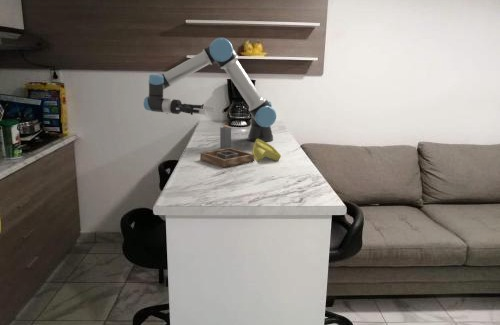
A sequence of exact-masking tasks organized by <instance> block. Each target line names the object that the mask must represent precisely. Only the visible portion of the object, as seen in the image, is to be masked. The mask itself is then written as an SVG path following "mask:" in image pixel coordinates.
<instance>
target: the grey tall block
mask: <svg viewBox="0 0 500 325" xmlns="http://www.w3.org/2000/svg"><path fill="white" fill-rule="evenodd" d="M219 128H220V130H219V131H220V132H219V133H220V134H219V136H220V140H219V141H220V142H219V143H220V144H219V146H220V147H219V150H220V149H225V148H232V127H230V126H229V125H228V124H226V125H225V124H224V125H223V126H221V127H219Z"/></svg>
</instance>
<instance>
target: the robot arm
mask: <svg viewBox="0 0 500 325" xmlns="http://www.w3.org/2000/svg"><path fill="white" fill-rule="evenodd" d="M238 59H239V55H238V53H237V52H236V50H235V48H234V47H233V45H232V43H231V41H230V40H229V39H227V38H225V37H217V38H215V39H214V40H213V41H212V42H211V43H210V44H209V45H208V46H206V47H204V48H203V49H202V51H201V52H200V53H197V54H196V55H194V56H193V57H191V58H189V59H187V60H186V61H183V62H182V63H180V64H178V65H176V66H174V67H173V68H171V69H169V70H167V71H165V72H164V73H163V74H153V73H151V74H149V76H148V96H146V97H145V98H144V99H143V100H144V101H143V107H144V109H145V110H146V111H150V112H155V113H166V115H169V114H174V115H179V114H181V113H185V114H190V115H192V116H193V115H194V114H196V115H204V116H206V115H207V112H211V113H215V110H216V107H215V106H211V105H204V103H202V104H190V103H188V104H187V103H182V101H181V100H180V99H173V98H166V97H165V98H164V90H165V89H167V88H169V87H171V86H172V85H174V84H175V83H177V82H180V81H181V80H183V79H184V78H187V77H189V76H190V75H192V74H194V73H195V72H197V71H200V70H202V69H203V68H205V67H207V66H209V65H211V66H212V65H215V64H217V66H218V67H219V69H221V70H224V72H226V74H227V76H228V77H229V78H230V80H231V82H232V83H233V84H234V87H236V89H237V90H238V93H239V94H240V96H241V97H242V98H243V100H244V101H245V102H246V104H247V106H248V111H249V113H250V115H251V116H250V117H251V119H250V121H251V122H250V129H249V132H248V133H249V134H248V135H247V140H248V139H249V140H248V141H250V140H252V141H251V142H255V141H256V139H260V140H262V141H269V142H271V140H272V141H274V134H273V132H272V128H271V127H272V126H273V124H275V122H276V119H277V112H276V110H275V109H274V108H273V106H272V102H271V101H270V100H268V99H267V98H266V97H262V95H261V93H260V92H259V91H258V89H257V88H256V86H255V85H254V83H253V82H252V80H251V79H250V76H248V74H247V72H246V71H245V69H244V68H243V67H242V64H241V63H240V62H239V60H238Z"/></svg>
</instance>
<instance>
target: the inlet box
mask: <svg viewBox="0 0 500 325" xmlns="http://www.w3.org/2000/svg"><path fill="white" fill-rule="evenodd" d="M199 160H200V161H202V162H205V163H208V164H210V165H214V166H217V167H220V168H222V169H226V168H231V167H237V166H241V165H246V164H250V163H254V162H255V158H254V154H252V153H250V152H246V151H243V150H239V149H236V148H232V147H231V148H225V149H220V148H219V149H214V150H209V151H205V152H200V159H199ZM253 161H254V162H253ZM249 162H250V163H249ZM245 163H246V164H245Z"/></svg>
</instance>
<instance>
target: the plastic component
mask: <svg viewBox="0 0 500 325" xmlns="http://www.w3.org/2000/svg"><path fill="white" fill-rule="evenodd" d="M251 154H254V161H256V162H260V161H262V160H263V158H265V157H266V158H269V159H271V160H273V161H275V162H279V161H280V159H281V157H282V155H281V153H280V152H278V150H276V149H275V147H274V146H272V145H271V144H270V143H268V142H264V141H262V140H260V139H256V141H254V143H253V146H252V153H251Z"/></svg>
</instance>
